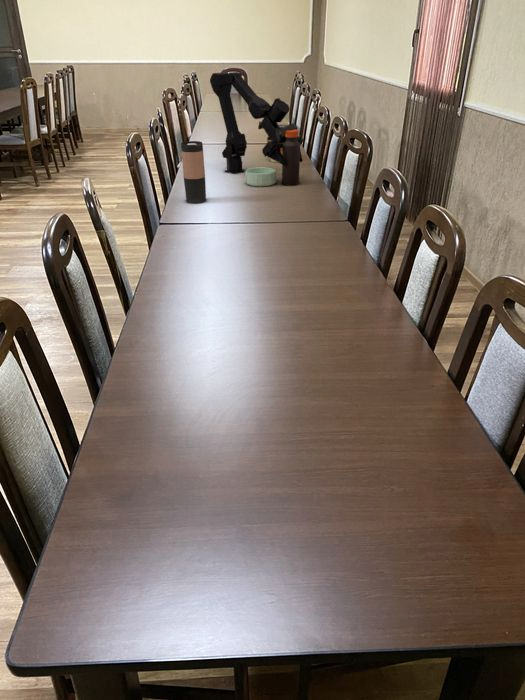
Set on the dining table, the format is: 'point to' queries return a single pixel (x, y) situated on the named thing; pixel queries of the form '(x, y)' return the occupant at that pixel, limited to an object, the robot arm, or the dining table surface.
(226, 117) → the robot arm
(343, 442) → the dining table surface
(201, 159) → the travel mug
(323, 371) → the dining table surface
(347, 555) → the dining table surface
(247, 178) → the basin
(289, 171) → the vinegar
